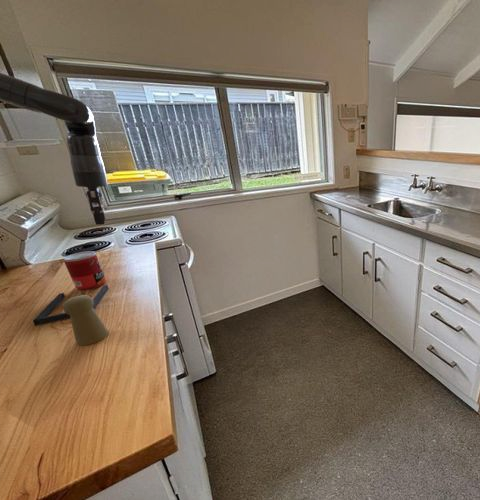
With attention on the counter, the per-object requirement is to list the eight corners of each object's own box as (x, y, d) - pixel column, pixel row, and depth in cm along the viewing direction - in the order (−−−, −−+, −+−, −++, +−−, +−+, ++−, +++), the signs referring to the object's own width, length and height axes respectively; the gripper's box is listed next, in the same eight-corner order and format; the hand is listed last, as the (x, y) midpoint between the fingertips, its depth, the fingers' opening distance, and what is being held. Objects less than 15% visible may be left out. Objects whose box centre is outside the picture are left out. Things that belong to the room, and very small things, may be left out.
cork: (85, 348, 65) (67, 307, 61) (70, 342, 67) (51, 303, 63) (114, 332, 70) (98, 294, 66) (99, 327, 72) (83, 290, 68)
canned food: (104, 286, 94) (92, 256, 90) (73, 293, 90) (59, 261, 86) (109, 277, 100) (97, 249, 96) (79, 283, 97) (66, 254, 93)
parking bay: (34, 325, 74) (32, 320, 74) (61, 297, 88) (59, 293, 87) (92, 313, 79) (90, 308, 78) (108, 288, 93) (107, 284, 92)
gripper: (74, 170, 90) (86, 220, 95) (69, 170, 80) (83, 227, 84) (105, 170, 95) (115, 218, 99) (104, 171, 84) (115, 224, 89)
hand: (100, 222), depth 92 cm, fingers open, 8 cm apart
